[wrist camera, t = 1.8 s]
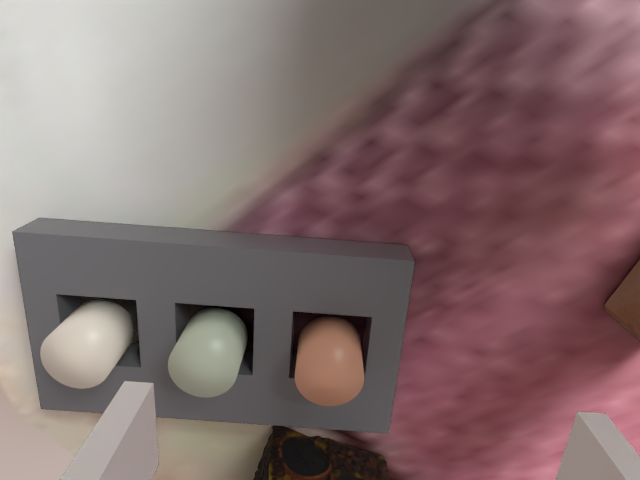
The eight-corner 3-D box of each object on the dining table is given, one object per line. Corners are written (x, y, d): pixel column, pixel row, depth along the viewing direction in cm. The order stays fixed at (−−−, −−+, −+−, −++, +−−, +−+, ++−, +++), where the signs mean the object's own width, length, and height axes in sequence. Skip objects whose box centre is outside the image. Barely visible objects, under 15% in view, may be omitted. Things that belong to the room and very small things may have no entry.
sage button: (185, 305, 32) (166, 335, 29) (248, 309, 32) (238, 341, 29) (186, 359, 34) (169, 394, 30) (247, 363, 34) (237, 399, 30)
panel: (39, 217, 33) (12, 231, 30) (407, 244, 33) (415, 261, 30) (62, 383, 38) (40, 408, 35) (384, 406, 38) (388, 433, 35)
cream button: (69, 296, 32) (35, 326, 29) (133, 301, 32) (107, 331, 29) (76, 351, 34) (45, 386, 30) (137, 355, 34) (113, 391, 30)
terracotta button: (300, 313, 33) (296, 345, 29) (363, 317, 33) (367, 350, 29) (296, 366, 34) (292, 403, 30) (357, 371, 34) (360, 408, 30)
